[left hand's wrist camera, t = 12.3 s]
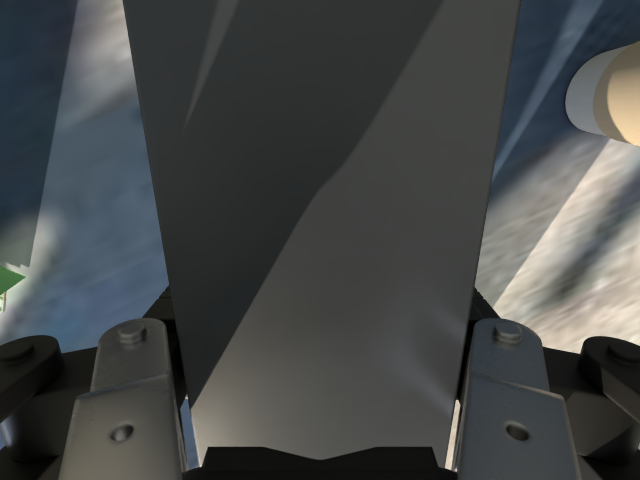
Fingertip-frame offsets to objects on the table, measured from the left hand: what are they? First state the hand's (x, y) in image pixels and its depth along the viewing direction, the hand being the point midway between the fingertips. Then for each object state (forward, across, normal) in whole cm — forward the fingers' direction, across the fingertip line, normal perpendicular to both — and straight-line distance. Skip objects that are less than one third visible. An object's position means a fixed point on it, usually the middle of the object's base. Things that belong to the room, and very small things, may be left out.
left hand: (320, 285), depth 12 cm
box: (+6, 0, -9) cm, 11 cm away
